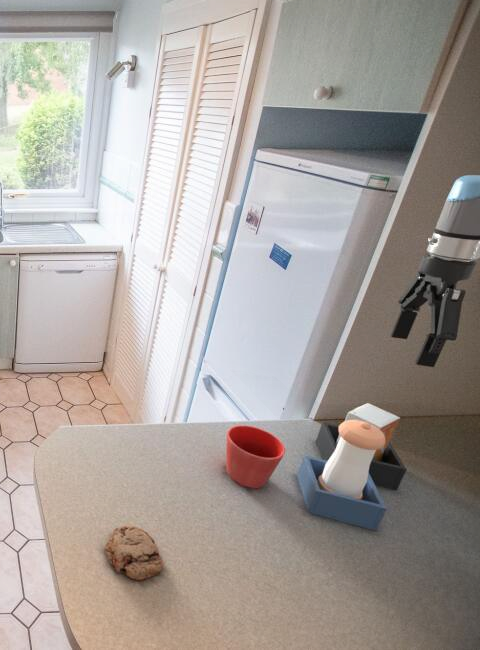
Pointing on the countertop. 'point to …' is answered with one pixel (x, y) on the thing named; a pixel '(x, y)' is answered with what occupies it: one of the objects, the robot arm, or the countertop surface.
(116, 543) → the cookie
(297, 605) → the countertop surface
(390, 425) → the small box
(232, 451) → the flower pot
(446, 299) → the robot arm
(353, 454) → the pepper shaker
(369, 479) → the blue bin
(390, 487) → the charcoal bin
